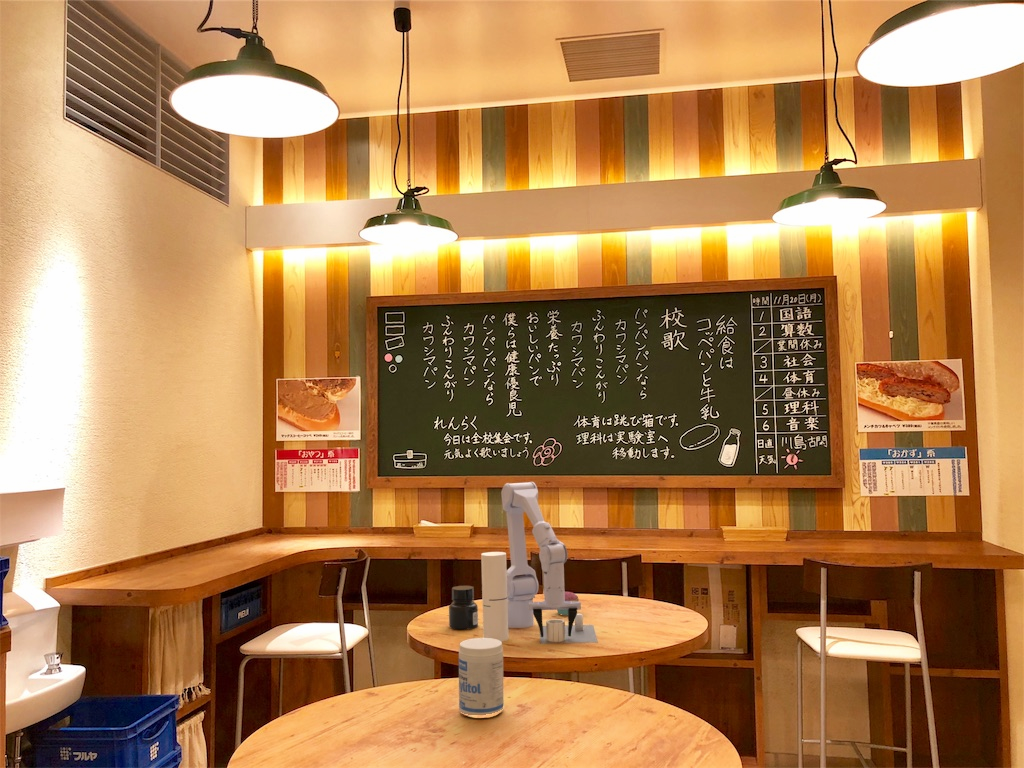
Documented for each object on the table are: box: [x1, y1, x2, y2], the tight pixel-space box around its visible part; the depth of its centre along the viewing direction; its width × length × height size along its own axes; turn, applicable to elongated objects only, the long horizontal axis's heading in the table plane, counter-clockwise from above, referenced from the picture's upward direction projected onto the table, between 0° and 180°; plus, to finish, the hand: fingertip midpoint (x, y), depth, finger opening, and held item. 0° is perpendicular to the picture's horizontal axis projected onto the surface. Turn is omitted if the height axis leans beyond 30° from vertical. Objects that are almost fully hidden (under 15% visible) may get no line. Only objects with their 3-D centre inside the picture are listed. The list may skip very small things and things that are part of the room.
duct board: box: [539, 613, 599, 645], centre depth 233 cm, size 16×20×6 cm
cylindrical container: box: [480, 551, 510, 643], centre depth 230 cm, size 7×7×25 cm
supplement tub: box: [458, 637, 505, 715], centre depth 173 cm, size 10×10×15 cm
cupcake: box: [557, 591, 580, 616], centre depth 263 cm, size 9×8×12 cm
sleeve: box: [545, 618, 566, 642], centre depth 227 cm, size 5×5×5 cm
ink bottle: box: [448, 585, 479, 631], centre depth 249 cm, size 10×9×12 cm
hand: (555, 635), depth 227 cm, fingers open, 7 cm apart
